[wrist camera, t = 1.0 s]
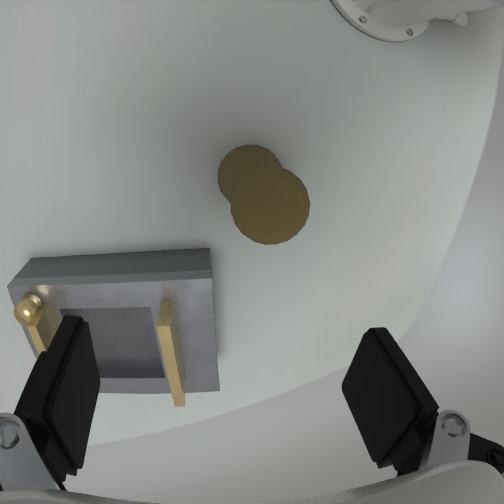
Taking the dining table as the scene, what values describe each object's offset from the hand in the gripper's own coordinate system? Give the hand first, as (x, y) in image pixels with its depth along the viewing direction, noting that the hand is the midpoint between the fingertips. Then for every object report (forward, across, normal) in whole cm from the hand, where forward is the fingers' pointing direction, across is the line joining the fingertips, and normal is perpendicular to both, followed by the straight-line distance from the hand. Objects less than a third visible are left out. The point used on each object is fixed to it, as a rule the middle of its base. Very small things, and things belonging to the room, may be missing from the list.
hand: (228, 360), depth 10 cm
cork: (+22, -3, -1) cm, 22 cm away
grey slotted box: (+21, +9, +14) cm, 27 cm away
